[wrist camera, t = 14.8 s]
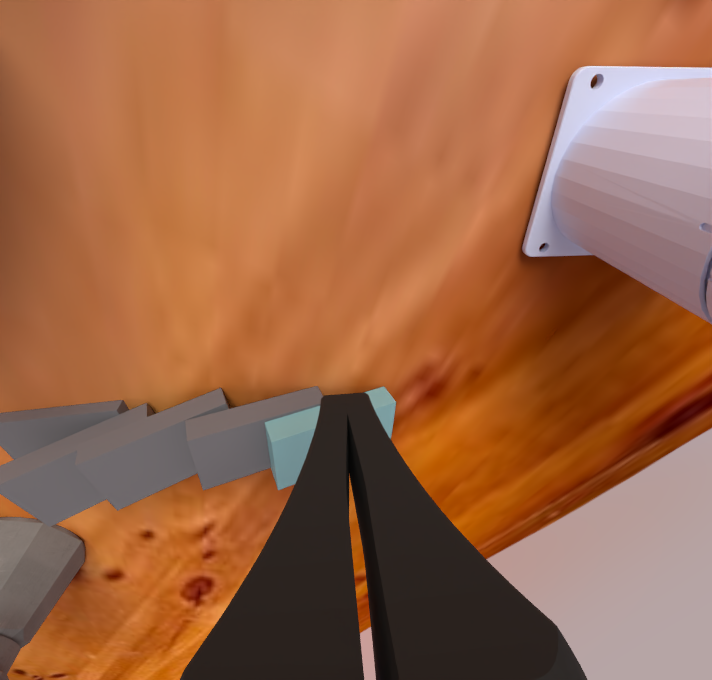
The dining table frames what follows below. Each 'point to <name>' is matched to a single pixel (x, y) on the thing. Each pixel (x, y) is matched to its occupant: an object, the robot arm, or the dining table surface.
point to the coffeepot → (32, 579)
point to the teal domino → (310, 436)
